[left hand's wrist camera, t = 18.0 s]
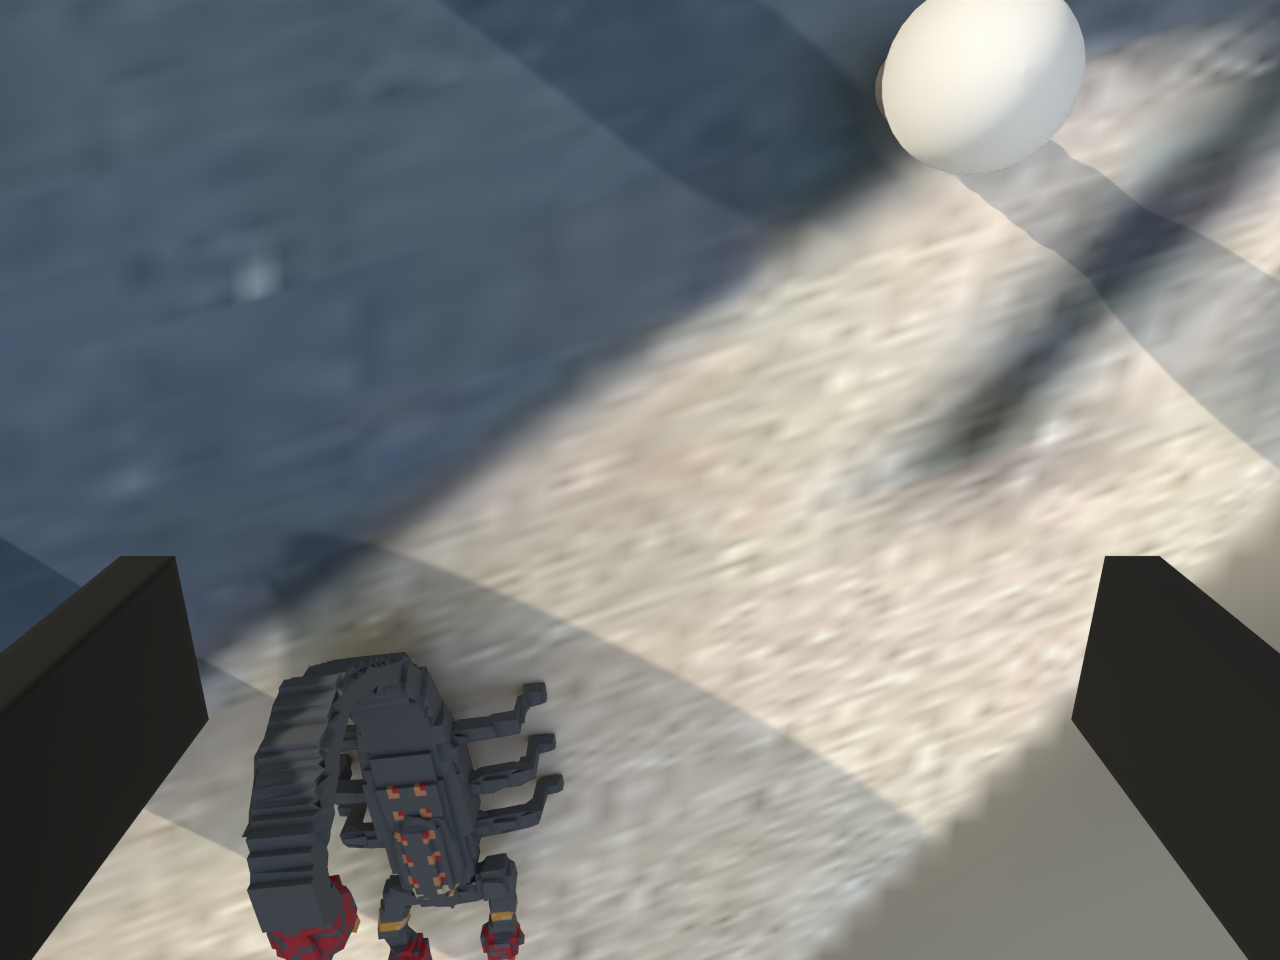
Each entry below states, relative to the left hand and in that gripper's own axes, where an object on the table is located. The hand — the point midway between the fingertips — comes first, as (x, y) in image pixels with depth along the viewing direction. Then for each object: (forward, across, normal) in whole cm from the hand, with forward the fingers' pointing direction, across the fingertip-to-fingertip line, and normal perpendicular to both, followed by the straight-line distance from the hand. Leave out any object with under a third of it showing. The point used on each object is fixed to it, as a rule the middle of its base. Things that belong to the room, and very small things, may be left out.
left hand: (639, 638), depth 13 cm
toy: (+32, +12, +28) cm, 44 cm away
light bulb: (+32, -12, -9) cm, 35 cm away
